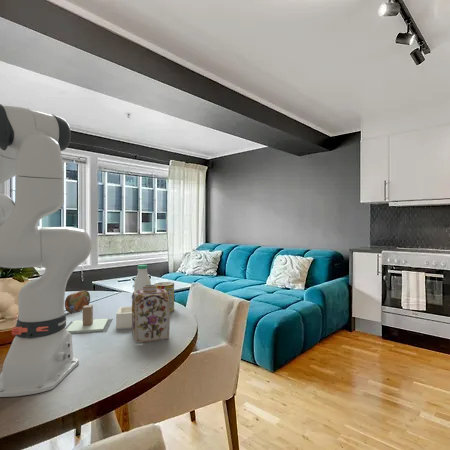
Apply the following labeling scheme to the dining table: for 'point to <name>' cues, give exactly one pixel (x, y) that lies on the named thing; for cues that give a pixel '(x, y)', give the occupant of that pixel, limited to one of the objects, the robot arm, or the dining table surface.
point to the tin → (77, 301)
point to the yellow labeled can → (170, 290)
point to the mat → (96, 331)
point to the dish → (124, 317)
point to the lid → (87, 322)
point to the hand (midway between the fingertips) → (35, 264)
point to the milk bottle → (141, 278)
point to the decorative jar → (150, 314)
